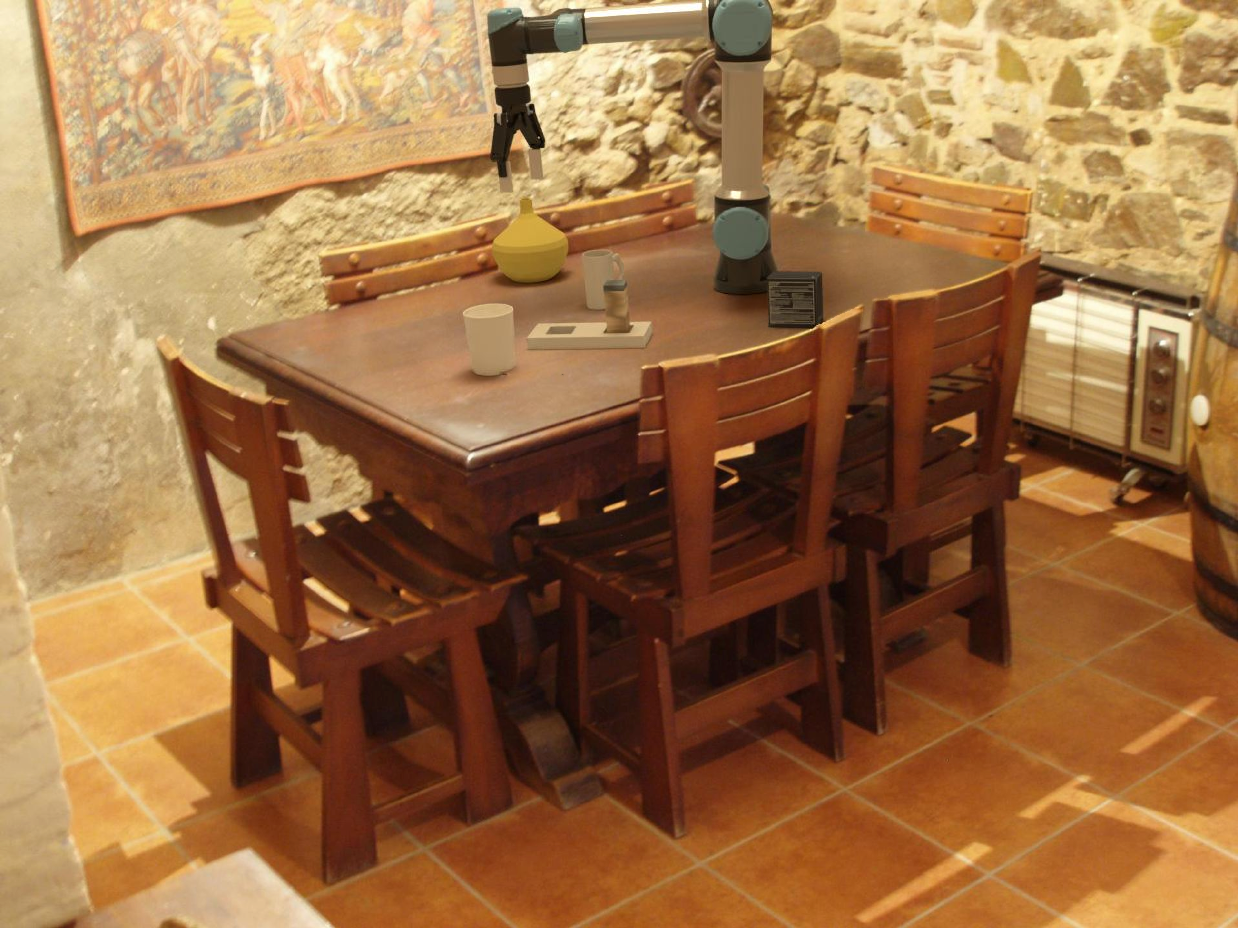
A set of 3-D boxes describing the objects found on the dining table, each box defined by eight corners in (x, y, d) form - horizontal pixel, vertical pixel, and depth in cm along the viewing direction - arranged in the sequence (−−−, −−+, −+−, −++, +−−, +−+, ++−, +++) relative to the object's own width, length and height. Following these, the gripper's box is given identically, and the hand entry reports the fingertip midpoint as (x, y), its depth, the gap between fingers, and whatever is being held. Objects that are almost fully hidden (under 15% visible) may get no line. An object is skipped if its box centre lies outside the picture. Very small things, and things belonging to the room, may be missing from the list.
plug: (631, 337, 291) (626, 279, 287) (627, 343, 288) (623, 285, 283) (611, 337, 292) (606, 280, 288) (607, 343, 289) (603, 285, 284)
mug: (597, 312, 313) (592, 258, 308) (580, 306, 318) (575, 254, 314) (634, 302, 318) (630, 249, 314) (617, 297, 323) (613, 245, 319)
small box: (824, 319, 296) (823, 270, 292) (818, 328, 290) (817, 278, 286) (774, 318, 299) (773, 269, 295) (767, 327, 293) (765, 277, 289)
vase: (558, 264, 356) (551, 188, 349) (580, 280, 340) (573, 200, 332) (487, 275, 351) (479, 198, 344) (506, 292, 335) (497, 211, 327)
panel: (652, 335, 294) (651, 321, 292) (644, 350, 285) (643, 336, 283) (539, 337, 298) (538, 323, 297) (528, 352, 289) (526, 338, 288)
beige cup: (469, 364, 285) (462, 306, 280) (518, 359, 285) (512, 301, 281) (469, 379, 275) (462, 319, 271) (519, 374, 276) (513, 315, 271)
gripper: (524, 77, 312) (534, 174, 320) (466, 94, 292) (478, 197, 300) (554, 76, 309) (564, 174, 317) (497, 94, 288) (509, 198, 296)
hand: (522, 185), depth 308 cm, fingers open, 13 cm apart
